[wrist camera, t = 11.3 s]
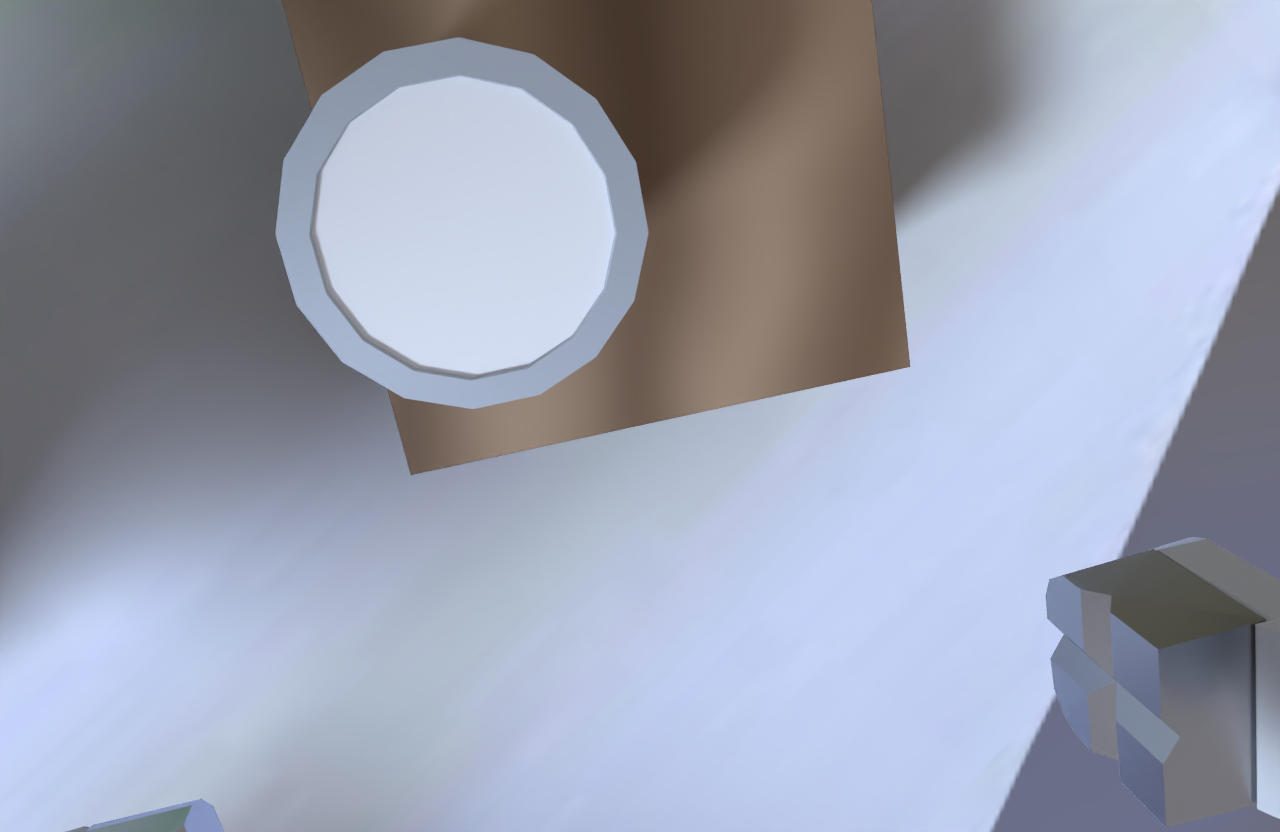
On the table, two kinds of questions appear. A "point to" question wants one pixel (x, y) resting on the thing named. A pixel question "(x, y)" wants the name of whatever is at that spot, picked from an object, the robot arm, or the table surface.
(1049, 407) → the table surface
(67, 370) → the table surface
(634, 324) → the wooden stool
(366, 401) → the table surface
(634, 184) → the white cup
